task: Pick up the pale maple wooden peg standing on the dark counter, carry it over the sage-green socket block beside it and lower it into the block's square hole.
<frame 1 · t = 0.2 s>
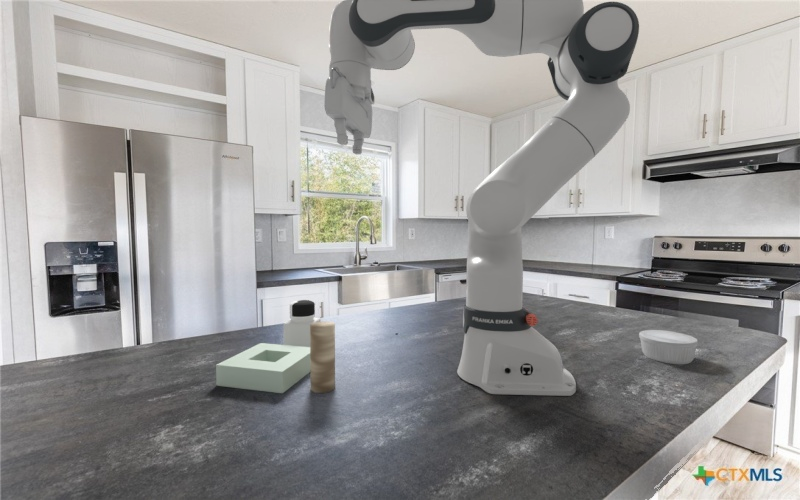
hand: (350, 149, 79), 47 cm above the countertop, fingers open, 8 cm apart
maple peg: (322, 387, 69), on the countertop
socket block: (270, 375, 75), on the countertop
medicine bottle: (302, 349, 92), on the countertop
ramekin: (666, 358, 86), on the countertop
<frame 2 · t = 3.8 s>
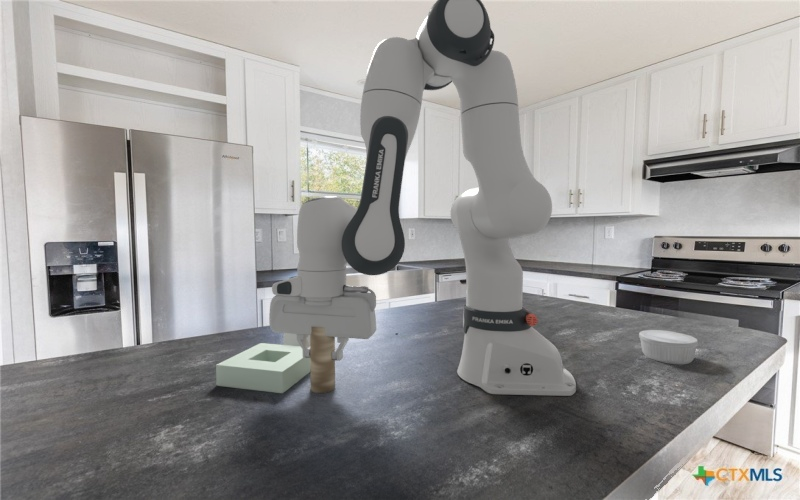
hand: (322, 358, 68), 6 cm above the countertop, fingers closed on maple peg, 4 cm apart
maple peg: (322, 387, 69), on the countertop, touching gripper
everything else where it was.
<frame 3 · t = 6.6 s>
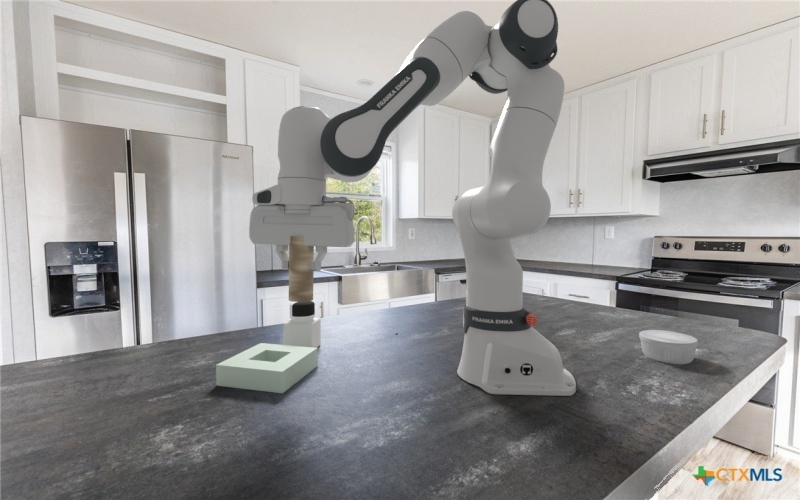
hand: (301, 270, 69), 22 cm above the countertop, fingers closed on maple peg, 4 cm apart
maple peg: (300, 299, 69), point 16 cm above the countertop, touching gripper
everything else where it was.
when the fingers open (7 cm above the countertop, at t = 9.8 s): maple peg stays where it is, resting in socket block.
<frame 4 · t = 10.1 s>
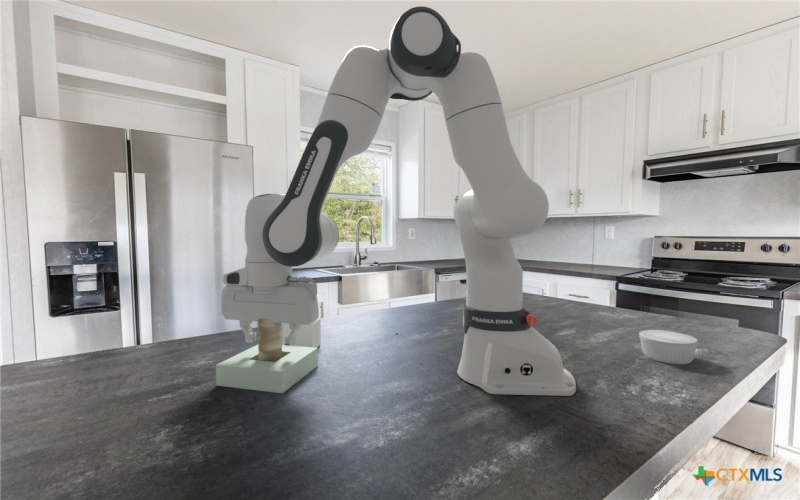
hand: (270, 343, 74), 7 cm above the countertop, fingers open, 8 cm apart
maple peg: (270, 375, 74), resting in socket block
everything else where it was.
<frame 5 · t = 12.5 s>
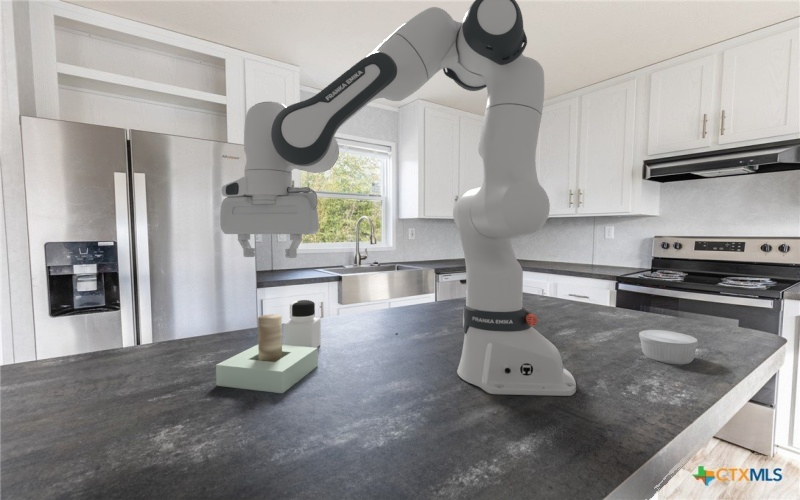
hand: (269, 257, 73), 24 cm above the countertop, fingers open, 8 cm apart
nothing on the countertop moved.
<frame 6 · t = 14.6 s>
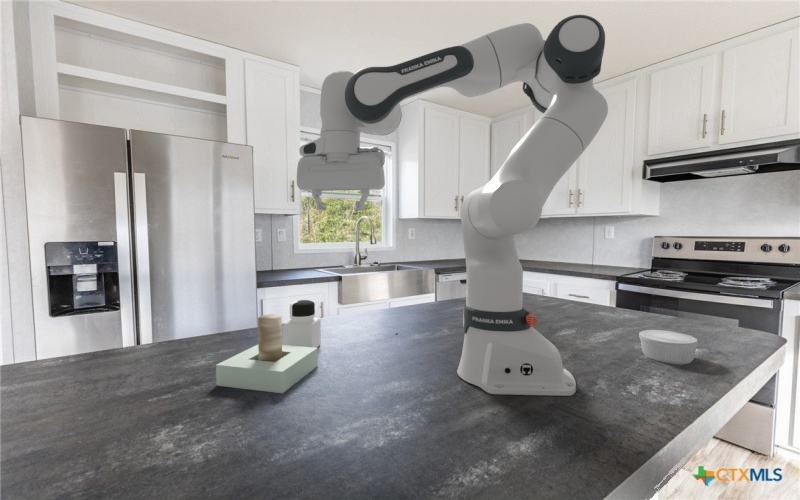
hand: (340, 210, 83), 34 cm above the countertop, fingers open, 8 cm apart
nothing on the countertop moved.
at the end: maple peg 0.1 cm off-centre on the socket block, point 0.0 cm above the socket block's base; maple peg tilted 0°; the gripper is holding nothing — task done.
